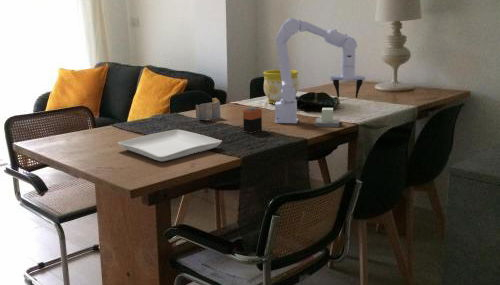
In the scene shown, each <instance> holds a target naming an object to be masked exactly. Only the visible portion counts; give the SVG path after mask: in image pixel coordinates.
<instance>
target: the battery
mask: <svg viewBox="0 0 500 285" xmlns="http://www.w3.org/2000/svg"><path fill="white" fill-rule="evenodd" d="M262 110H263V109H261V108H258V106H253V107H247V108H246V109H244V110H243V111H242V114H243V118H242V119H243V122H242V123H243V132H244V131H247V132H254V131H258V130H262V129H263V126H262V125H263V124H262V123H263V121H262V120H263V119H262V116H263V114H262ZM262 131H263V130H262Z"/></svg>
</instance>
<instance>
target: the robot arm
mask: <svg viewBox="0 0 500 285" xmlns="http://www.w3.org/2000/svg"><path fill="white" fill-rule="evenodd" d="M298 32H308V33H312V34H314V35H316V36H319V37H322V38H324V41H325V42H326V43H327V44H330V45H332V46H334V47H337V48H341V62H340V63H341V68H340V75H330V82H331V81H332V83H333V86H334V88H335V91H336V96H337V97H336V98H338V99H339V98H340V82H344V81H347V82H348V81H349V82H354V81H356V84H355V85H356V87H355V89H356V90H355V99H358V95H359V91H360V88H361V86H362V84H363V82H366V75H356V49H357V47H358V44H357V41H356V39H355V38H353V37H351V36H349V35H348V34H347V33H342V32H339V31H338V29H336V28H333V29H332V28H331V29H328V30H326V29H323V28H321V27H320V26H317V25H315V24H313V23H310V22H308V21H305V20H302V19H296V18H295V17H289V18H287V19H286V20H285V21H284V22H283V23H282V24H281V27H280V28H279V31H278V33H277V35H276V36H275V45H276V51H277V53H276V54H277V58H278V59H277V60H278V66H279V70H280V73H281V80H282V90H281V96H282V99H281V100H280V102H276V103H275V104H274V124H297V123H298V121H299V118H298V117H297V116H298V114H297V112H298V110H297V109H298V105H297V104H298V102H297V101H298V100H297V99H296V98H297V94H296V92H295V88H294V87H293V84H292V78H291V71H290V70H291V66H290V58H289V49H288V44H287V43H288V41H289V40H290V39H291V37H292V36H294V35H295V34H297V33H298Z"/></svg>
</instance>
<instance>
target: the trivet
mask: <svg viewBox="0 0 500 285" xmlns="http://www.w3.org/2000/svg"><path fill="white" fill-rule="evenodd" d="M340 121H341V120H340V118H334V117H333V121H332V122H325V121H322V117H316V118H315V121H314V127H322V128H339V127H340Z"/></svg>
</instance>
